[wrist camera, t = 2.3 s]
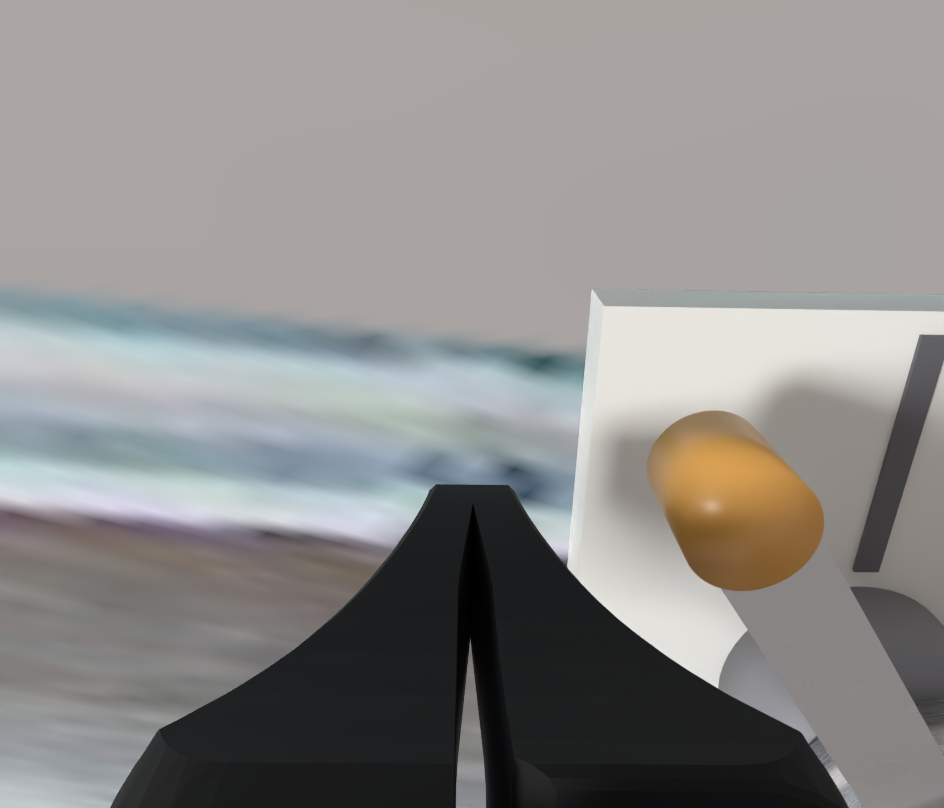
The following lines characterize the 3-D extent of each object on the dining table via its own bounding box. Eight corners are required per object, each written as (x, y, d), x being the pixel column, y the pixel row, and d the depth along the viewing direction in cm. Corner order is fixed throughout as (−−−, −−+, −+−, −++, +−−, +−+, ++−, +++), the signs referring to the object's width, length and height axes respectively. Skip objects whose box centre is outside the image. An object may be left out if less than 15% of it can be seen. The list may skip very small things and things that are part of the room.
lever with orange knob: (1068, 814, 15) (1168, 932, 13) (834, 904, 17) (890, 1025, 14) (833, 325, 11) (926, 380, 9) (533, 497, 12) (549, 583, 10)
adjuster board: (983, 787, 22) (1103, 943, 18) (547, 784, 22) (567, 942, 18) (1201, 298, 16) (1464, 366, 12) (591, 288, 16) (637, 353, 11)
